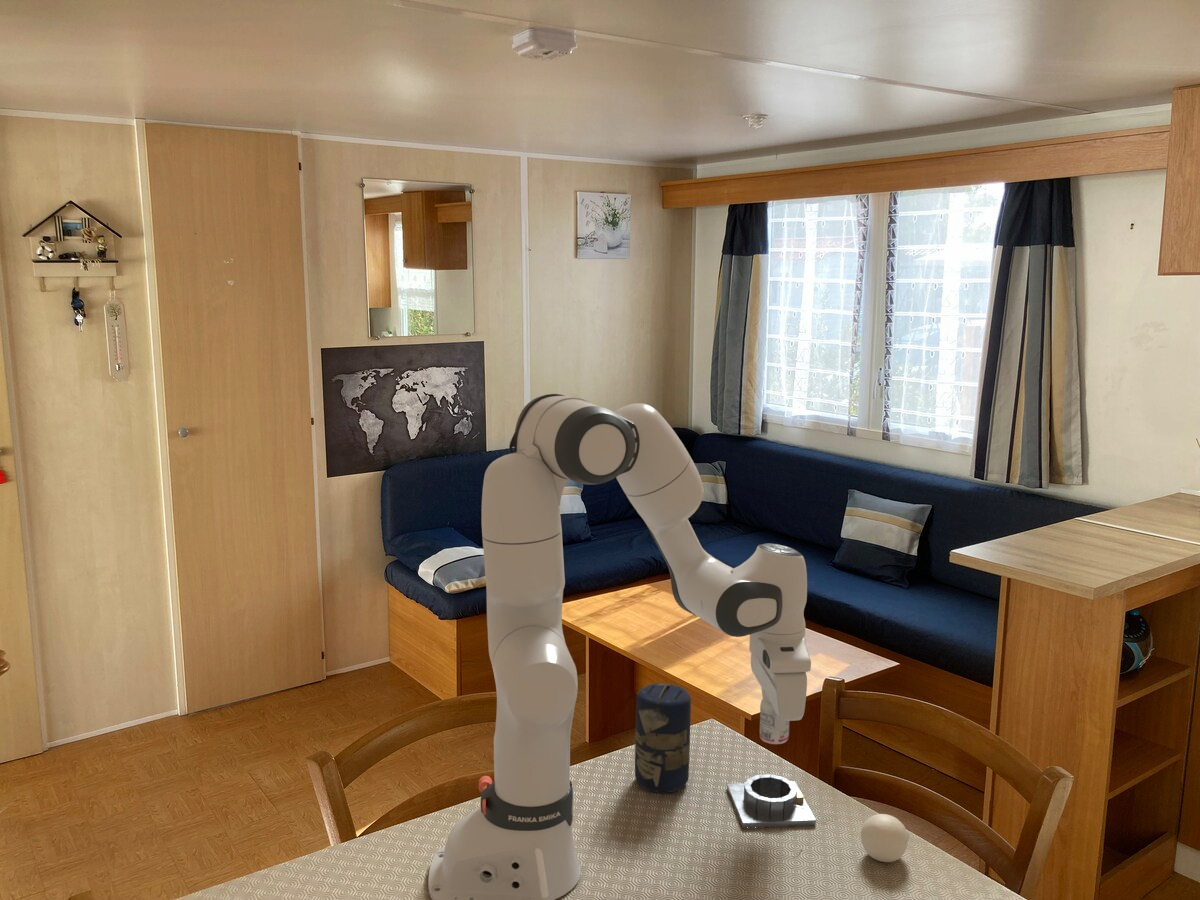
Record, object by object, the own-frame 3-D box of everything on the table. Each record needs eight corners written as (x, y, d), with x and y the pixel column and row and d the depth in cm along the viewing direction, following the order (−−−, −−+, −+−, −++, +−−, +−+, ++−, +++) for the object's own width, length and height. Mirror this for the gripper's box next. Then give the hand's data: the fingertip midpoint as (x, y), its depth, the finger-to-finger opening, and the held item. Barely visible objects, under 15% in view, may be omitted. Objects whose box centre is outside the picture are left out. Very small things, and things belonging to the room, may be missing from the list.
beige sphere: (917, 860, 148) (920, 821, 146) (884, 876, 144) (887, 835, 143) (883, 838, 153) (886, 800, 152) (850, 853, 150) (853, 813, 148)
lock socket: (742, 828, 156) (743, 809, 155) (727, 789, 167) (727, 770, 167) (815, 825, 157) (816, 805, 156) (794, 786, 168) (795, 767, 168)
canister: (624, 785, 168) (625, 689, 165) (652, 763, 176) (654, 670, 172) (671, 803, 163) (673, 704, 159) (698, 779, 171) (701, 684, 167)
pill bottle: (784, 730, 162) (786, 684, 160) (791, 744, 157) (793, 696, 156) (756, 731, 162) (758, 684, 160) (762, 745, 157) (764, 697, 156)
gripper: (743, 618, 166) (740, 693, 169) (774, 667, 146) (771, 751, 149) (778, 617, 167) (776, 692, 170) (814, 666, 147) (811, 750, 150)
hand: (774, 720), depth 159 cm, fingers closed on pill bottle, 5 cm apart
